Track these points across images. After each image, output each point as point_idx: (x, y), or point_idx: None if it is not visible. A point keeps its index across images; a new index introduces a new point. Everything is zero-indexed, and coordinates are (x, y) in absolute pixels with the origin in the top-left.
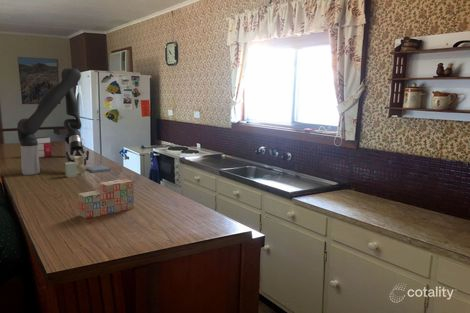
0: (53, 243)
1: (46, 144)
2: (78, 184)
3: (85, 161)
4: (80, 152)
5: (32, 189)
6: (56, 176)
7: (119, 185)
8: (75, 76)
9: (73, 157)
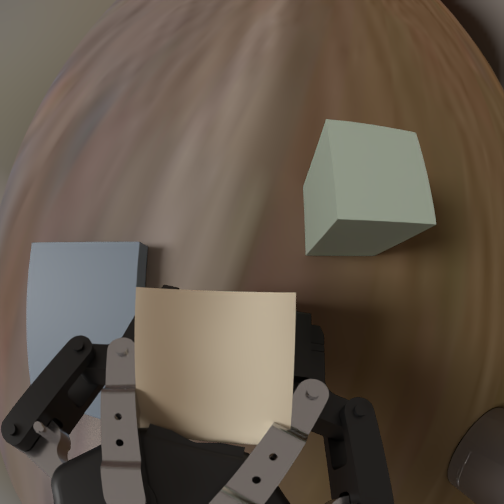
0: None
1: None
2: (333, 34)
3: None
4: (125, 462)
5: (480, 89)
6: (426, 280)
7: None
8: None
9: (289, 413)
